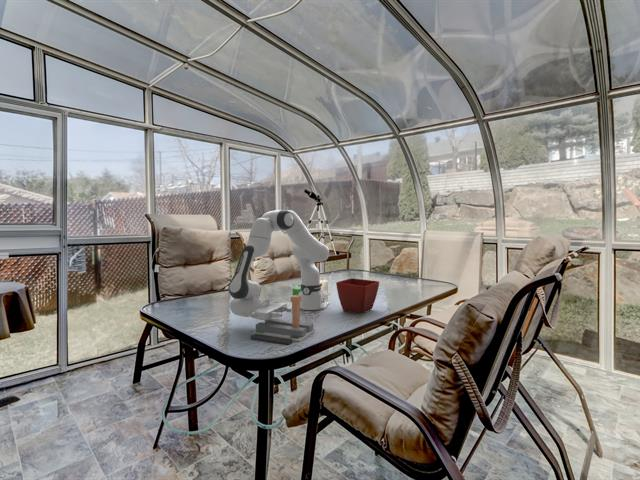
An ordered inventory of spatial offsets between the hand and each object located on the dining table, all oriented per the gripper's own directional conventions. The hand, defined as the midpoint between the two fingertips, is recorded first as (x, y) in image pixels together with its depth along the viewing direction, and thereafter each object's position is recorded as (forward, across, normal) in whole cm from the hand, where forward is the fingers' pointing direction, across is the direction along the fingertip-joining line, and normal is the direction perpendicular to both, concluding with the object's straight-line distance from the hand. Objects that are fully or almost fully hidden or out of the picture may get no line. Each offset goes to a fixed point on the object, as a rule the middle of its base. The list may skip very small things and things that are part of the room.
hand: (286, 312), depth 161 cm
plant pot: (+19, +52, +10) cm, 56 cm away
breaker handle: (+5, 0, +8) cm, 10 cm away
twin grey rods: (-1, -12, +10) cm, 15 cm away
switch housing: (-1, 0, +10) cm, 10 cm away
